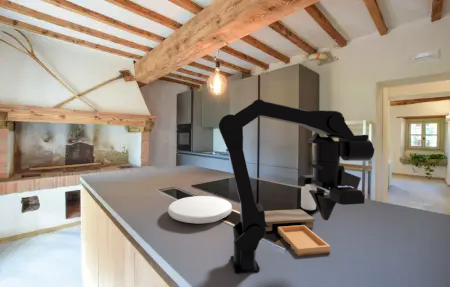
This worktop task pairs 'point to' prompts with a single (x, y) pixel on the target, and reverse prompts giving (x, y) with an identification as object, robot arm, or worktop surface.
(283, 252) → the worktop surface
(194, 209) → the white thick disc
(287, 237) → the shallow tan tray
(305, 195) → the can
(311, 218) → the overhang
